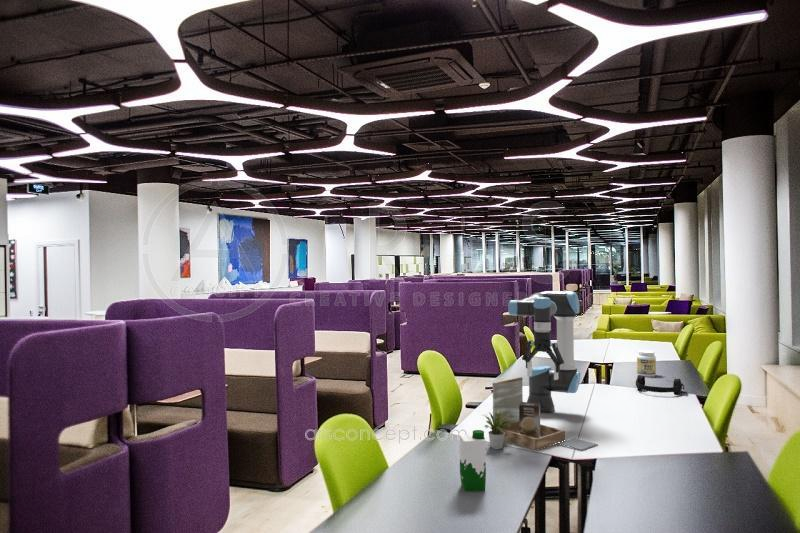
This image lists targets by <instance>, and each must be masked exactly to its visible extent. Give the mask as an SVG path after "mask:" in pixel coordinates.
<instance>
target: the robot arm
mask: <svg viewBox="0 0 800 533" xmlns="http://www.w3.org/2000/svg"><path fill="white" fill-rule="evenodd" d="M507 304H508V305H507V306H508V307H507V310H508V314H509V315H510V316H515V317H521V316H522V317H523V316H524V317H533V330H534V331H533V339H534V340H528V342H527V346H526V348H525V350H524V353H523V355H522V358H521V360H522V361H525V368H526V370H527V371H526V374H527V375H526V376H527V377H528V398H527V400H526V402H529V403H540V414H542V413H543V414H545V413H553V412H554V411H555V403H554V400H553V397H552V392H556V393H564V394H565V393H567V394H575V393H577V392H578V390H579V386H580V382H581V372H580V371H578V367H577V366H576V365H575V359H574V357H575V356H574V354H575V350H574V349H575V348H574V345H575V344H574V319H576V318H577V314H579V313H580V307H581V306H580V299H579V296H578V294H577V292H575V291H570V290H545V291H541V292H535V293H533V294H531V295H530V296H528V297H526V298H523V299H514V300H513V299H511V300H509V302H508V303H507ZM552 316H553V317H554V318H555V319H556V342H553V343H552V341H551V340H552V332H551V331H552V328H551V326H552V323H551V322H552V320H551V319H552ZM533 346H534V348H533ZM532 348H533V349H532ZM538 352H542V353H546V354H547V356H549V357H550V359H551V360H552V362H553V363H554V365H553V369H552V367H551V366H549V365H543V366H540V365H539V366H534V367H533V366H532V365H533V362H532V359H533V358H534V356H535V355H536V354H537V353H538Z"/></svg>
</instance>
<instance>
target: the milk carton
mask: <svg viewBox="0 0 800 533" xmlns="http://www.w3.org/2000/svg"><path fill="white" fill-rule="evenodd" d="M486 447H487V442H486V438H485V431H484V430H482V429H481V430H480V429H475V430H472V434H469V433H468V434H460V435H459V476H460V482H461V483H460V484H461V486H462V488H463V490H464V492H465V493H470V492H473V493H474V492H486V480H487V479H486V478H487V454H486V453H487V451H486V450H487V449H486Z"/></svg>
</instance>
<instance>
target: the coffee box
mask: <svg viewBox="0 0 800 533" xmlns="http://www.w3.org/2000/svg"><path fill="white" fill-rule="evenodd" d="M540 424H541V413H540V403H529V402H527V401H523V402H520V405H519V432H518V433H519V434H523V435H526V436H530V437H533V438H540V437H541V435H540Z"/></svg>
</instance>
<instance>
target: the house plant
mask: <svg viewBox="0 0 800 533" xmlns="http://www.w3.org/2000/svg"><path fill="white" fill-rule="evenodd" d="M500 412H501V410H500V411H499V412H498V414H497V413H496V411H495V421H494V417H493V413H491V412H490V411H489V412H488V414H489V415H490V416H488V414H486V413H485V414H482V416H484V417H485V418H486V419H487V420H486V421H485V423H487V424H488V425H487V424H485V425H484V428H485V429H491V430H489V431H488V437H489V438H488V439H489V443H490V444H489V445H490V447H492V449H495V448H496V449H495V450H497V449H498V450H499V448H500V449H502V448H503V446H504V441H505V440H504V436H505V432H503V431H502V430H503V429H502V426H503V425H504V424H505V423H508V422H515V421H504V422H503V420H505V418H506V417H507V416H508V415H509V414H508V415H506V416H505V417H504V418H503V419H502V420H501V421H500V422H499V419H500V417H501V415H502V414H503V413H504V412H502V413H501V415H500ZM507 418H510V417H507ZM504 426H505V427H504ZM504 426H503V428H510V427H508V426H510V425H507V426H506V425H504ZM501 429H502V430H501Z"/></svg>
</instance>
